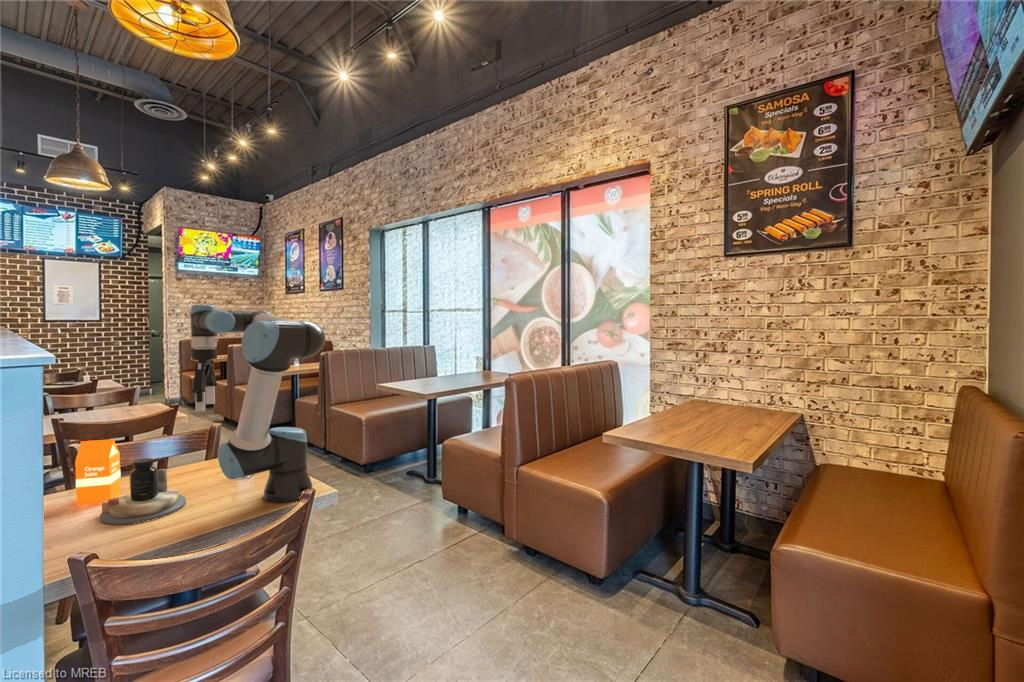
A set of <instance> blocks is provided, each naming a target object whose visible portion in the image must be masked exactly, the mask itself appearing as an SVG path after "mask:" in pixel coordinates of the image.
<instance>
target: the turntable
mask: <svg viewBox="0 0 1024 682" xmlns="http://www.w3.org/2000/svg"><path fill="white" fill-rule="evenodd" d="M167 472H168V470H167V468H161V469H160V468H159V469H157V473H158V495H157V496H156V497H154V498H152V499H149V500H146V501H138V502H137V501H132V500H131V496H130V493H127V494H125V495H122V496H119V497H118V496H117V497H116V498H112V499H108V507H109V515H110V516H112V517H115V518H131V517H139V516H144V515H149V514H153V513H156V512H159V511H162V510H165V509H167V508H170V507H171V506H173V505H175V504H176V503H177V502H178V495H179V492H178V490H176V489H174V488H168V475H167Z"/></svg>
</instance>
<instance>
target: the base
mask: <svg viewBox="0 0 1024 682" xmlns="http://www.w3.org/2000/svg"><path fill="white" fill-rule="evenodd" d="M186 500H187V499H186V497H185V496H184V495H181V494H178V502H177V503H176V504H175V505H173V506H171V507H170V508H167V509H165V510H162V511H159V512H156V513H153V514H149V515H144V516H139V517H131V518H115V517H112V516H110V515H109V507H108V501H104V502H102V503H101V513H100V514H99V521H100V523H102V524H104V525H107V526H128V525H129V524H130V525H135V524H134V523H137V524H139V523H138V522H142V523H144V522H143V521H147V520H151V521H153V520H152V519H155V518H158V519H161V518H160V517H162V518H164V517H163V516H165V517H167V516H170V515H171V513H172V514H174V513H176V512H178V511H179V509H180V510H181V509H182V508H184V507H185V506H184V505H186V504H185V503H186V502H187V501H186ZM183 506H184V507H183ZM177 510H178V511H177ZM175 511H176V512H175ZM173 512H174V513H173ZM169 514H170V515H169ZM166 515H167V516H166ZM155 520H156V519H155ZM147 522H148V521H147Z"/></svg>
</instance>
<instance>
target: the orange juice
mask: <svg viewBox="0 0 1024 682" xmlns="http://www.w3.org/2000/svg"><path fill="white" fill-rule="evenodd" d="M120 454H121V453H120V451H119V448H118V446H117V444H116V442H115V440H114V438H111V439H97V440H96V439H95V440H93V439H92V440H82V441H81V440H80V444H79V448H78V452H77V455H76V458H75V463H74V465H75V488H76V490H75V491H76V492H75V493H76V506H77V505H78V506H85V505H84V504H88V505H94V504H95V503H97V504H102V502H104V501H108V499H112V498H115V497H116V498H117V497H118V495H119V494H120V493H121V494H122V489H121V488H122V487H121V486H122V485H121V476H122V475H121V455H120ZM121 494H120V495H121ZM120 495H119V496H120Z"/></svg>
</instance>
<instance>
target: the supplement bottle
mask: <svg viewBox="0 0 1024 682" xmlns="http://www.w3.org/2000/svg"><path fill="white" fill-rule="evenodd" d="M132 464H133V466H132V468H133V469H132V470H131V471H130V473H129V490H130V491H129V492H130V493H129V494H130V496H131V500H132V501H137V502H138V501H146V500H149V499H152V498H154V497H156V496H157V495H158V473H157V470H158V468H157V467H156V466H154V458H150V457H146V458H145V457H144V458H139V459H136V460H134V461H133V463H132Z"/></svg>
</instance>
